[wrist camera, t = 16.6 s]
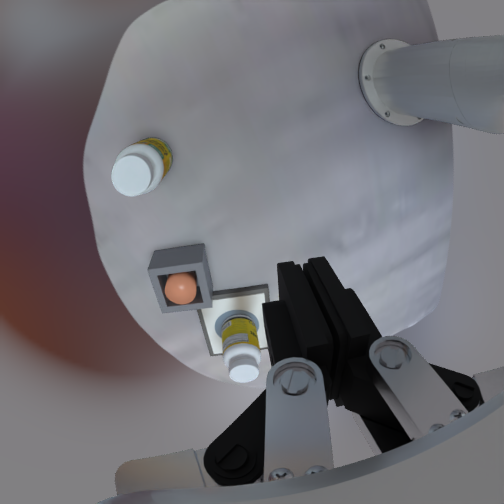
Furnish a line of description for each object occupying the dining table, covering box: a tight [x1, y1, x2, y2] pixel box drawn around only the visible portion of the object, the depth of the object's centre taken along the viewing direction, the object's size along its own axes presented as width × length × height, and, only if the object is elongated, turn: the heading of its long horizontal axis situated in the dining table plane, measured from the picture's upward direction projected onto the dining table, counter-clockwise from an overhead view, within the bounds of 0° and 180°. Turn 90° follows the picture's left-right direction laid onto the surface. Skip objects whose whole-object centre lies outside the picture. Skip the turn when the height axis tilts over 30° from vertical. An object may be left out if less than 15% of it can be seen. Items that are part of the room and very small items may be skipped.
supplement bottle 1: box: [111, 138, 172, 196], centre depth 28 cm, size 5×5×10 cm
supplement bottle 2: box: [221, 315, 261, 383], centre depth 40 cm, size 5×5×10 cm
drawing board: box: [197, 284, 270, 356], centre depth 45 cm, size 11×13×1 cm
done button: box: [165, 271, 197, 304], centre depth 37 cm, size 4×4×3 cm
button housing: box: [148, 244, 213, 313], centre depth 38 cm, size 7×7×5 cm
